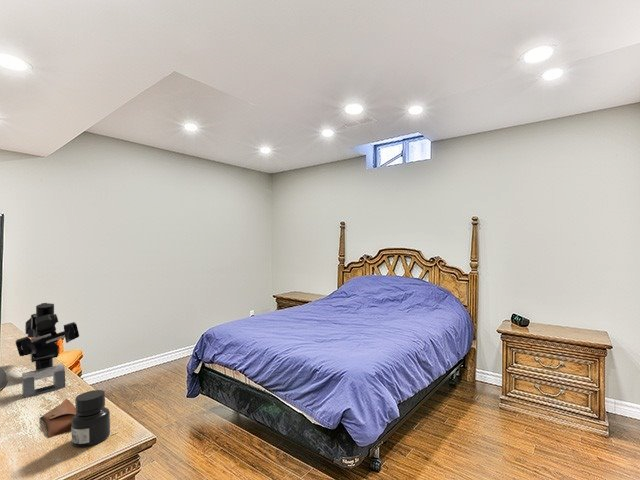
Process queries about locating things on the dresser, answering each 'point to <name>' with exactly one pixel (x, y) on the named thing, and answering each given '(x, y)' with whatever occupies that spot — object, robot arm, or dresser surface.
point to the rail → (43, 372)
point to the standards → (30, 390)
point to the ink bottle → (90, 419)
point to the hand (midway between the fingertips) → (51, 346)
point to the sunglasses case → (59, 418)
